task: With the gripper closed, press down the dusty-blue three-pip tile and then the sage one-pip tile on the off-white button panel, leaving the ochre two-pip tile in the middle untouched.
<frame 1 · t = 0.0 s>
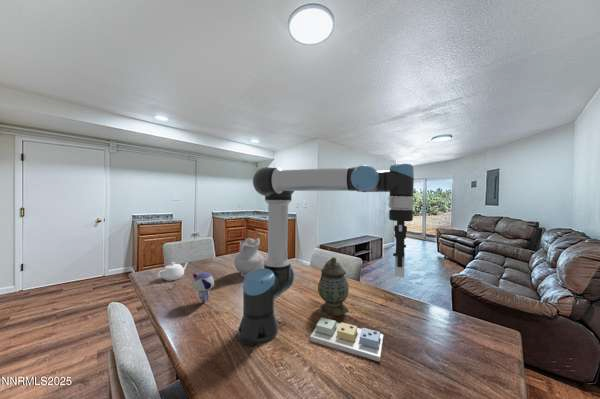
hand: (399, 270, 78), 28 cm above the table, fingers open, 13 cm apart
toy: (203, 303, 111), on the table
tile three: (369, 337, 79), point 4 cm above the table, slide at 0.0 cm
teapot: (173, 278, 144), on the table
tile one: (326, 325, 85), point 4 cm above the table, slide at 0.0 cm
tile two: (347, 331, 82), point 4 cm above the table, slide at 0.0 cm
ceramic pitcher: (248, 275, 151), on the table
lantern: (333, 311, 105), on the table
panel: (347, 342, 82), on the table
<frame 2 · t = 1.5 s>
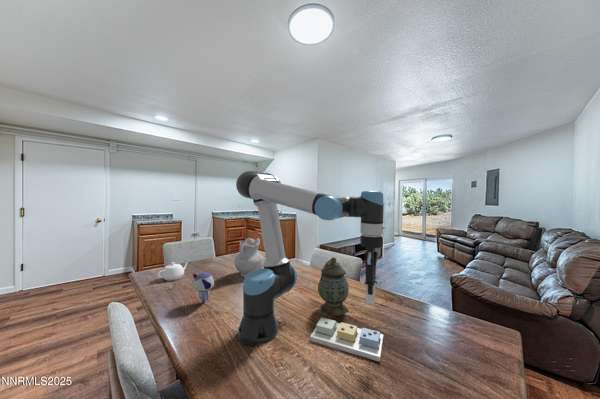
hand: (370, 302, 79), 16 cm above the table, fingers closed
nothing on the table moved.
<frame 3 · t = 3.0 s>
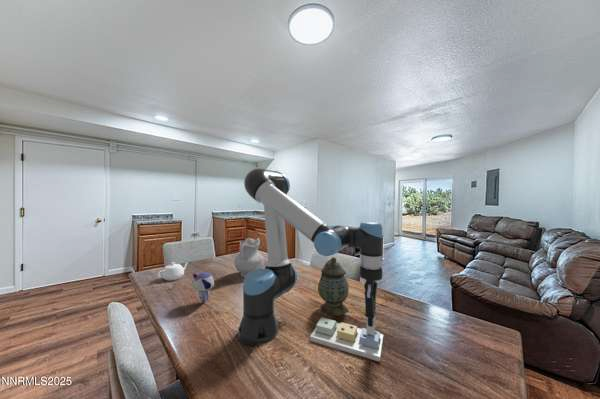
hand: (370, 333, 79), 5 cm above the table, fingers closed
tile three: (369, 337, 79), point 4 cm above the table, slide at 0.1 cm, touching gripper
everything else where it was.
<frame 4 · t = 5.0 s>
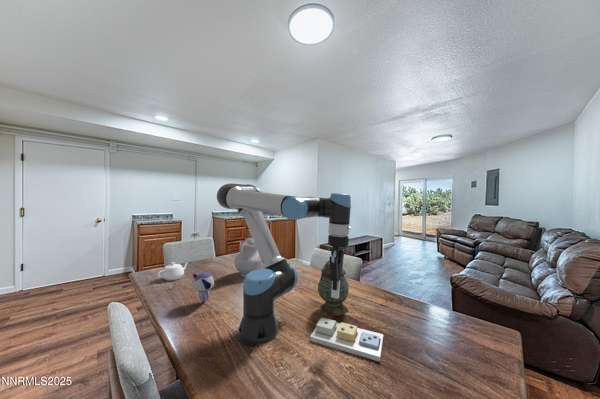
hand: (335, 297, 84), 16 cm above the table, fingers closed
tile three: (369, 341, 79), point 2 cm above the table, slide at 1.6 cm
everything else where it was.
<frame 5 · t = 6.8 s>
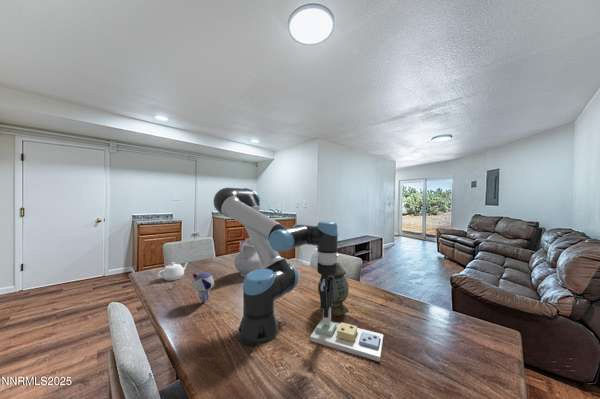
hand: (326, 324, 85), 5 cm above the table, fingers closed
tile one: (326, 328, 85), point 3 cm above the table, slide at 0.9 cm, touching gripper
everything else where it was.
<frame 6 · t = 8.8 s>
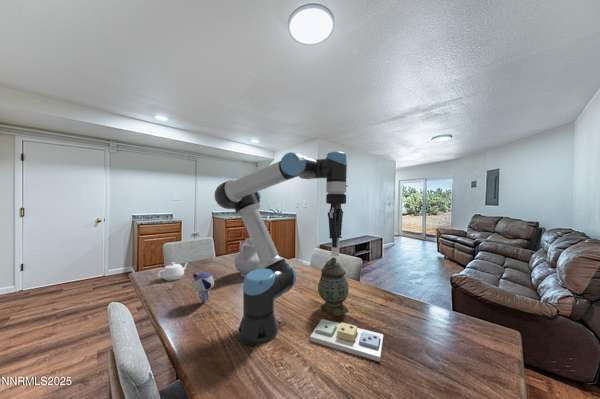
hand: (335, 255, 85), 31 cm above the table, fingers closed
tile one: (326, 330, 85), point 2 cm above the table, slide at 1.6 cm
everything else where it was.
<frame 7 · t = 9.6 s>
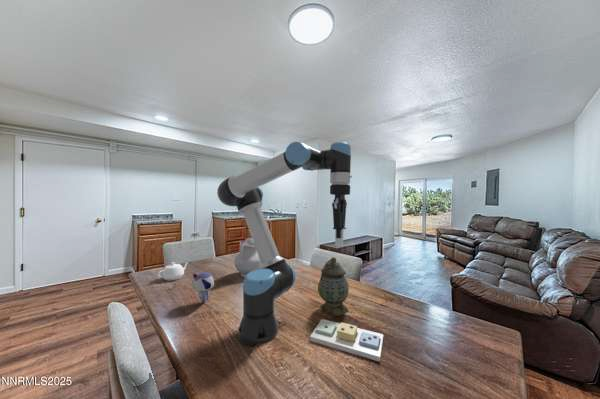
hand: (339, 246, 85), 34 cm above the table, fingers closed
nothing on the table moved.
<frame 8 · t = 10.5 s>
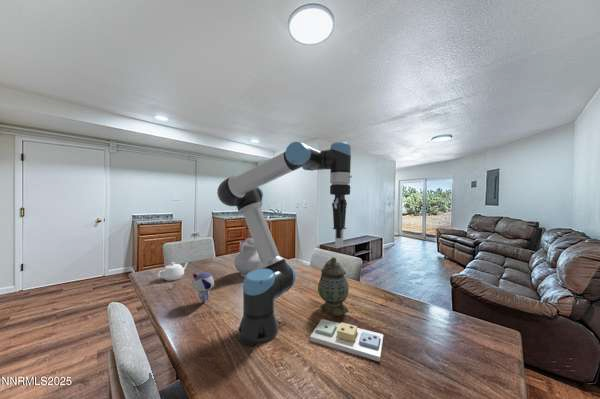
hand: (339, 246, 85), 34 cm above the table, fingers closed
nothing on the table moved.
at the end: tile three slide at 1.6 cm; tile one slide at 1.6 cm; tile two slide at 0.0 cm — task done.
